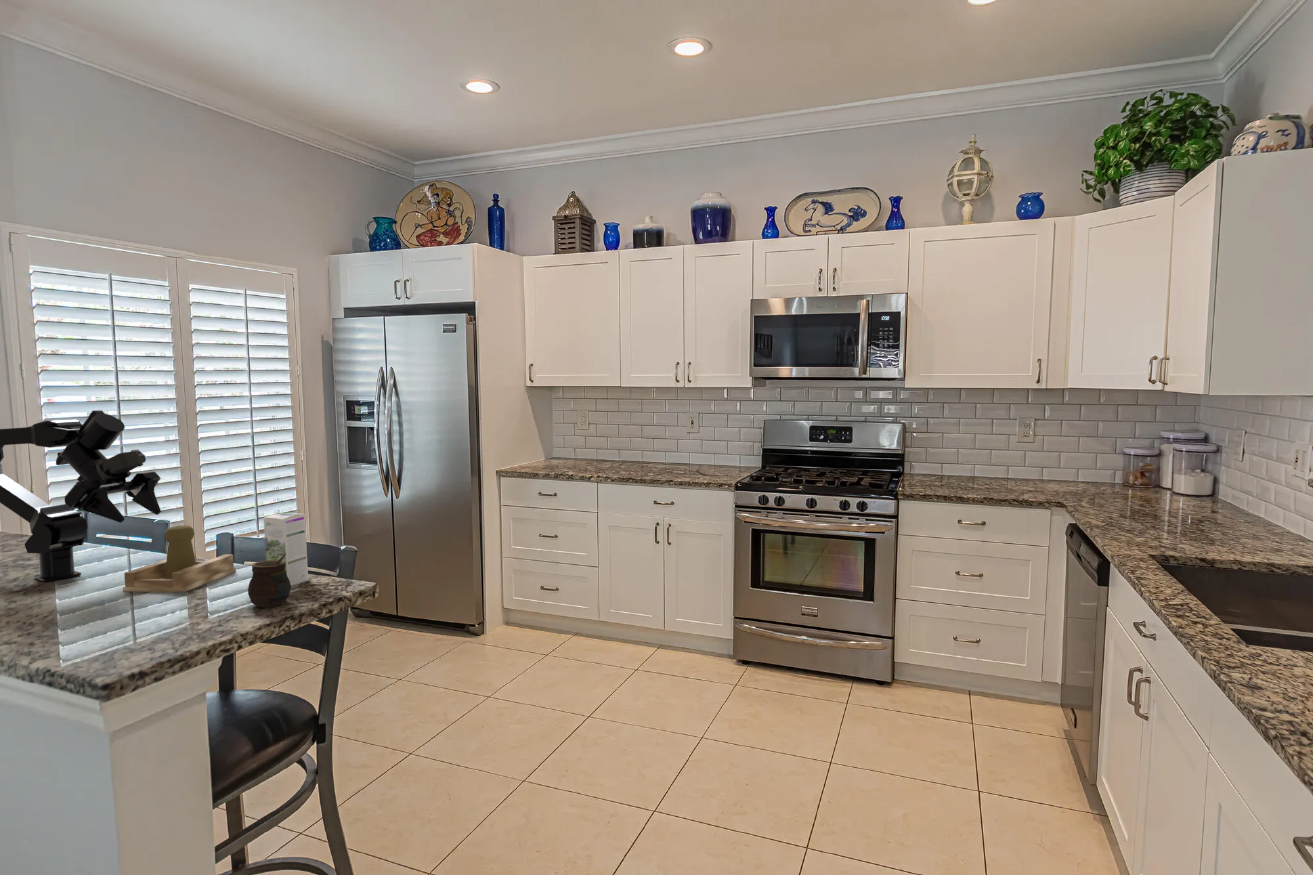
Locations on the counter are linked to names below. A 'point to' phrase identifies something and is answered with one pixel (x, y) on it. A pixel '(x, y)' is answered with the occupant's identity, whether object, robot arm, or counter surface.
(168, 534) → the olive pepper mill
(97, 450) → the robot arm
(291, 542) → the syrup box
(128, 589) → the track
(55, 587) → the counter surface
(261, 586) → the mate gourd
